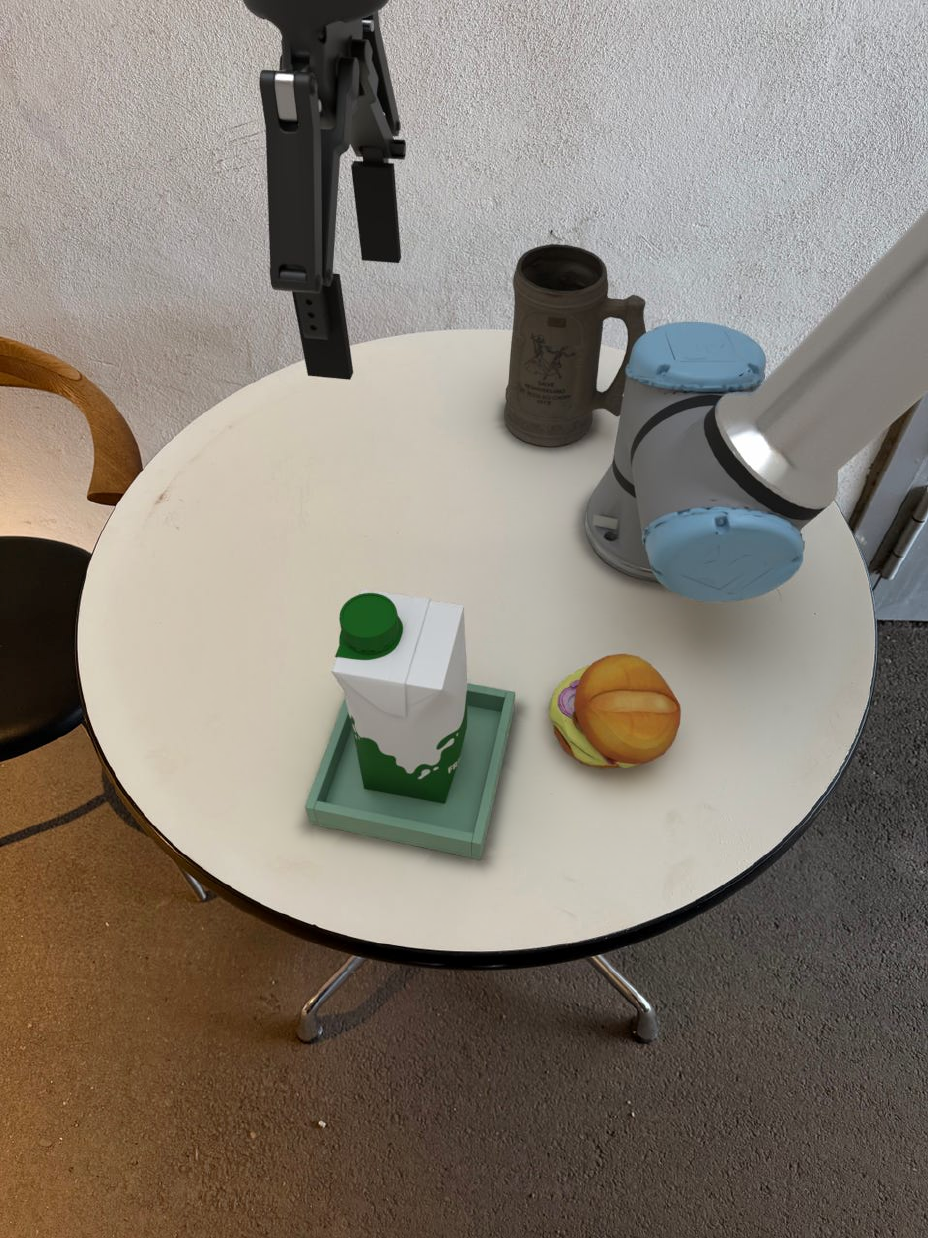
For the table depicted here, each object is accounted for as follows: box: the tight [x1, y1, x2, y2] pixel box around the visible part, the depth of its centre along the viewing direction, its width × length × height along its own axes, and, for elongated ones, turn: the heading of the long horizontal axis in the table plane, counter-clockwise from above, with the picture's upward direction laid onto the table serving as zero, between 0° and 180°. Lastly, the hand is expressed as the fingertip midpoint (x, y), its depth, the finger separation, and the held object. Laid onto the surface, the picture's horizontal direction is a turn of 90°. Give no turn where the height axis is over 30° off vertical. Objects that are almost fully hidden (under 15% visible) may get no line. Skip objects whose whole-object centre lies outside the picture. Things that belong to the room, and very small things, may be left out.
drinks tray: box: [304, 682, 516, 860], centre depth 74 cm, size 15×15×3 cm
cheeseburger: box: [548, 653, 682, 770], centre depth 74 cm, size 10×11×10 cm
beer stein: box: [503, 243, 647, 447], centre depth 96 cm, size 15×11×20 cm
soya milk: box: [331, 589, 468, 804], centre depth 66 cm, size 9×9×20 cm
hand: (358, 312), depth 57 cm, fingers open, 13 cm apart
